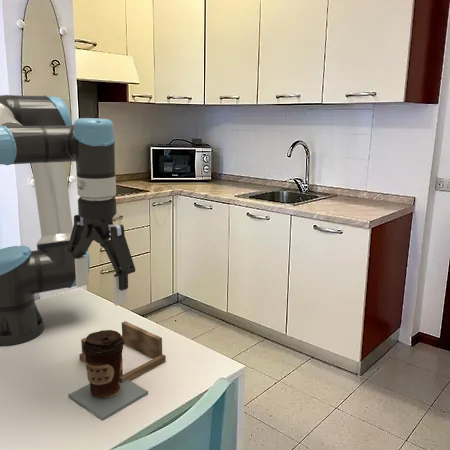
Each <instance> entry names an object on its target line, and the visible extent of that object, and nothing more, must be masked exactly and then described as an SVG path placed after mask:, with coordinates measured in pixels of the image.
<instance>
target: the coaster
mask: <svg viewBox="0 0 450 450" xmlns="http://www.w3.org/2000/svg"><path fill="white" fill-rule="evenodd" d="M119 385H120V388H121V389H120V392H118V394H117V395H114V396H112V397H107V398H97V397H95V396H93V395H92V394H91V392H90V383H88V384H86V385H85V386H84V385H83V387H80V388H78V389H77V390H75V391H72V392H70V393H68V395H67V396H68V398H69V399H71V400H72V401H73V402H75V403H76V404H78V405H79V406H80V407H82V408H83V409H85V410H86V411H87V412H90V413H91V414H92V415H94V416H95V417H97V418H98V419H99V420H101V421H103V422H104V420H106V419H107V418H110V417H112V416H113V415H114V414H116V413H118V412H120V411H122V410H123V409H125V408H126V407H128V406H130V405H131V404H133V403H135V402H136V401H138V400H140V399H142V398H143V397H145V396H147V395H148V394H149V391H148V390H147V389H145V388H143V387H141V386H140V385H139V384H136V383H135V382H132V380H131V381H129V380H127V381H125V382H123V383H121V382H120V381H119Z"/></svg>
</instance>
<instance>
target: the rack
mask: <svg viewBox="0 0 450 450" xmlns="http://www.w3.org/2000/svg"><path fill="white" fill-rule="evenodd" d="M121 337H122V338H123V339H124V345H123V346H126V347H129V348H131V349H133V350H134V351H136V352H139V353H140V354H143V355H144V356H146V357H148V358H150V360H149V361H146V362H144V363H142V364H141V365H139V366H137V367H135V368H133V369H132V370H129V371H127V372H125V373H124V371H123V366H122V371H121V373H120V377H119V381H120V382H121V383H123V382H125V381H127V380H129V381H131V382H132V381H133V380H135V379H137V378H138V377H140V376H142V375H144V374H145V373H148V372H150V371H151V370H154V369H155V368H156V367H158V366H161V365H163V364H165V363H166V361H167V359H166V357H167V356H166V355H165V354H163V337H161V336H159V335H157V334H154V333H152V332H149V330H146V329H143V328H141V327H139V326H138V325H134V324H132V323H131V322H128V321H126V320H124V321H123V322H121ZM86 338H87V337H84V338H82V339H80V342H81V352H80V354H78V355H79V361H81V363H84V364H85V365H86V363H85V359H86V356H85V353H84V350H83V345H84V342H85V341H86Z"/></svg>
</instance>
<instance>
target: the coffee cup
mask: <svg viewBox="0 0 450 450" xmlns="http://www.w3.org/2000/svg"><path fill="white" fill-rule="evenodd" d="M121 336H122V333H120V332H119V331H117V330H112V329H105V330H100V331H94V332H92V333H89V334H88V335H87V336H86V337H85V338H86V341H85V342H84V345H83V350H84V353H85V356H86V359H85V363H86V364H85V363H84V364H85V369H86V377H87V380H88V382H89V384H90V392H91V394H92V395H93V396H95V397H97V398H107V397H112V396H114V395H117V394H118V392H120V389H121V388H120V385H119V377H120V373H121V371H122V367H123V360H124V359H123V350H124V346H125V345H124V339H123V338H122V337H121Z"/></svg>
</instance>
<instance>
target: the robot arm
mask: <svg viewBox="0 0 450 450" xmlns="http://www.w3.org/2000/svg"><path fill="white" fill-rule="evenodd" d="M115 141H116V136H115V129H114V123H113V121H112V120H110V119H109V118H96V117H95V118H94V117H83V118H82V117H81V118H77V119H75V120H74V122H72V116H71V113H70V111H69V107H68V106H67V104H66V102H65V101H64V100H63V98H60V97H58V96H51V95H50V96H49V95H18V94H17V95H15V94H14V95H11V94H0V165H3V166H11V165H22V164H23V165H25V164H26V165H27V164H31V167H32V174H33V181H34V189H35V196H36V204H37V205H36V206H37V212H38V219H39V227H40V234H41V237H40V238H39V240H38V241H37V242H36V250H32V249H31V248H30V247H29V246H26V245H19V246H18V245H12V246H8V247H3V248H0V346H12V345H13V346H14V345H18V344H22V343H25V342H28V341H31V340H33V339H36V338H37V337H39V336H40V335H41V334H42V333H43V332H44V330H45V327H44V325H45V323H44V318H43V316H42V314H41V313H40V310H39V308H38V306H37V304H36V299H35V294H40V293H46V292H51V291H56V290H63V289H71V288H72V287H76V288H80V287H83V286H88V285H89V284H90V283H89V282H90V281H89V272H90V266H91V265H90V263H91V262H90V261H91V259H90V252H89V248H90V246H91V245H92V243H93V242H94V241H95V242H96V243H98V244H99V246H100V247H101V248H103V249H104V251H105V253H106V255H107V257H108V259H109V261H110V263H111V266H112V267H113V270H114V271H115V273H114V274H113V295H114V296H113V298H114V299H113V300H114V301H113V302H114V305H115V306H116V307H118V306H120V305H123V304H125V303H128V288H129V275H130V274H133V273H135V272H136V267H135V264H134V260H133V257H132V254H131V251H130V248H129V245H128V242H127V239H126V236H125V228H124V225H123V224H116V225H115V224H114V221H113V218H114V217H115V216H116V214H117V198H116V197H115V195H116V194H117V184H116V183H117V179H116V177H117V176H116V154H115V153H116V149H115V146H116V145H115ZM69 162H70V163H72V162H74V163H75V170H76V171H75V172H76V183H77V184H76V189H77V195H78V196H79V198H77V209H78V211H77V212H78V214H75V215H74V216H73V217H72V211H71V204H70V196H69V189H68V187H69V186H68V181H67V173H66V165H65V163H69Z"/></svg>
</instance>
